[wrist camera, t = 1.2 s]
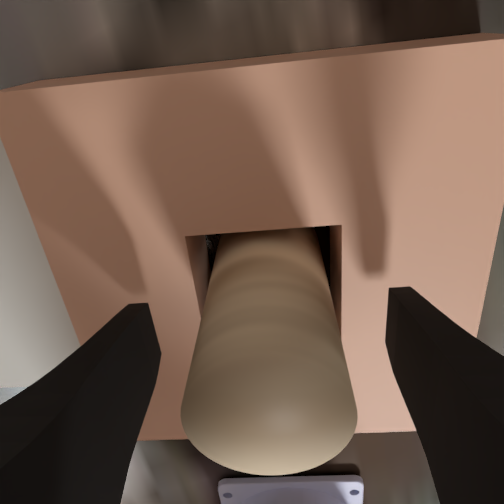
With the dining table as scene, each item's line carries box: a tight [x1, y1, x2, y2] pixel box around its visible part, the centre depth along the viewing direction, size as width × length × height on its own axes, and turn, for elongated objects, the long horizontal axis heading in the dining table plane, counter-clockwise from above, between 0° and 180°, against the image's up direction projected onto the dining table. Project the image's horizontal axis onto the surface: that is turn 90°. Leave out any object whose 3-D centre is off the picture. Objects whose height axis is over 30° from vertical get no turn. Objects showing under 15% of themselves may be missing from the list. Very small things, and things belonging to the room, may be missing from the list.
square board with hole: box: [0, 33, 504, 441], centre depth 15 cm, size 14×14×3 cm
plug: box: [180, 227, 358, 475], centre depth 13 cm, size 4×4×8 cm
